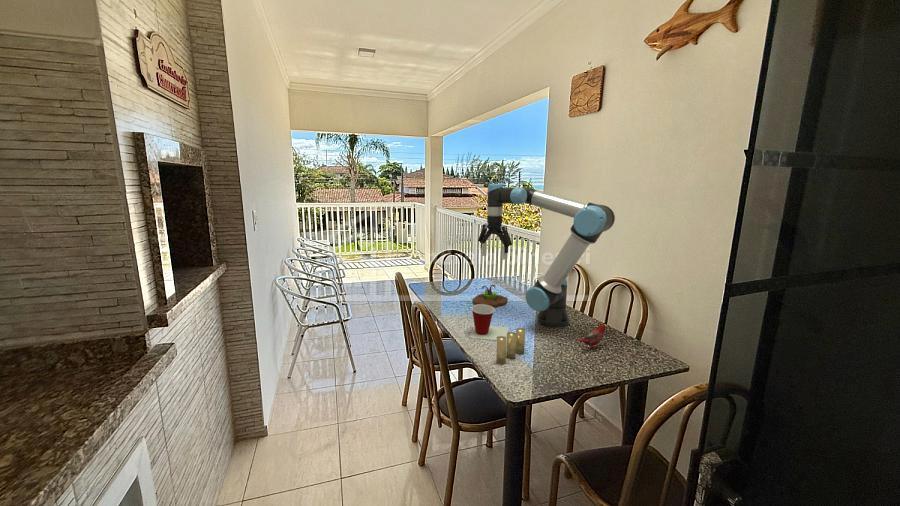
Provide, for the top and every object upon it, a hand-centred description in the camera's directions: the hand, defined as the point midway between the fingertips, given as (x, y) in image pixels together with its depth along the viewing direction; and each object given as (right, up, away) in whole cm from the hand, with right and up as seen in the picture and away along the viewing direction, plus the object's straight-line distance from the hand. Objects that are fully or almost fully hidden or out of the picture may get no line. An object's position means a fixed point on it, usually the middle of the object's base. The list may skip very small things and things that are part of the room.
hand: (494, 257), depth 185 cm
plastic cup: (-7, -35, -15) cm, 39 cm away
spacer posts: (+2, -39, -39) cm, 55 cm away
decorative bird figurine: (+36, -38, -32) cm, 62 cm away
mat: (-4, -35, -15) cm, 38 cm away
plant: (+1, -27, +31) cm, 41 cm away
